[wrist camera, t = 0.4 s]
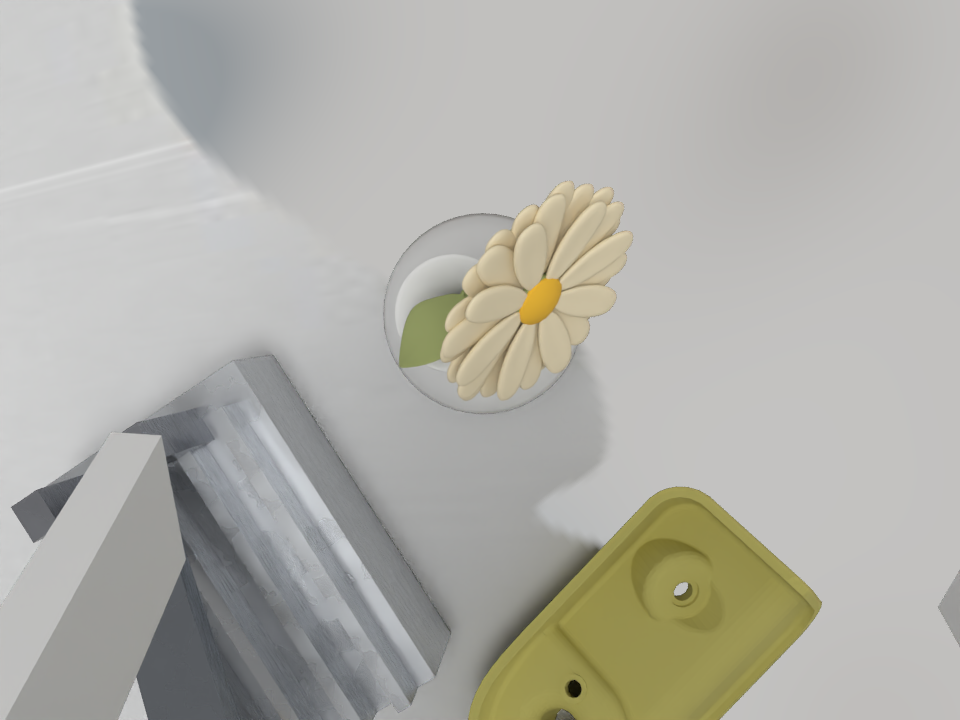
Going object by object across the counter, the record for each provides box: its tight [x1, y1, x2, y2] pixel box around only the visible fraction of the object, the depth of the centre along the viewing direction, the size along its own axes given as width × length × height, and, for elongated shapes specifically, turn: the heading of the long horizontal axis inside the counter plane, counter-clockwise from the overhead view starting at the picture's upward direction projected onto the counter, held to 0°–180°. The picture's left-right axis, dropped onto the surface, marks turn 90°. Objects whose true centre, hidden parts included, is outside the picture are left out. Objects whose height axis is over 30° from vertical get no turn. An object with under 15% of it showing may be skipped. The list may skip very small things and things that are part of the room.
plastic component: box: [468, 487, 822, 720], centre depth 46 cm, size 20×7×10 cm
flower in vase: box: [383, 181, 633, 414], centre depth 35 cm, size 13×11×25 cm
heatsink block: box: [11, 355, 451, 720], centre depth 44 cm, size 20×14×12 cm
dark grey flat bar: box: [136, 541, 241, 720], centre depth 36 cm, size 18×4×2 cm, turn 33°
